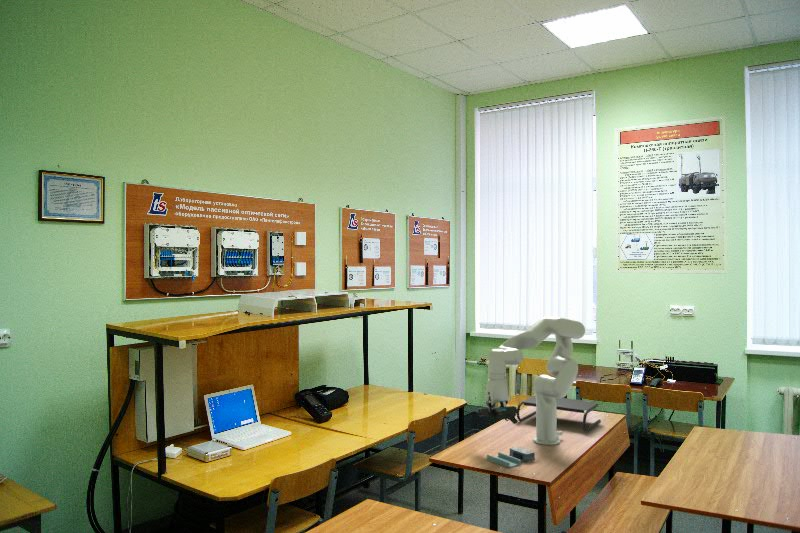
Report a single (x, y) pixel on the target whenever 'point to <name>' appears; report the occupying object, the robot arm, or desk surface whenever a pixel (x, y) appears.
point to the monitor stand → (564, 408)
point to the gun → (500, 413)
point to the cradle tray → (504, 460)
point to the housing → (522, 454)
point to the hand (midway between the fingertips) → (497, 416)
